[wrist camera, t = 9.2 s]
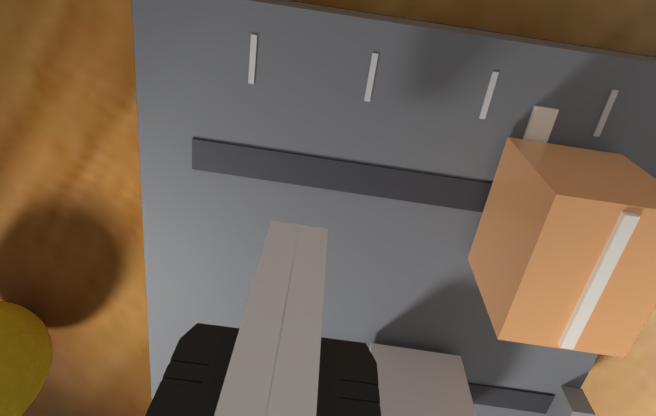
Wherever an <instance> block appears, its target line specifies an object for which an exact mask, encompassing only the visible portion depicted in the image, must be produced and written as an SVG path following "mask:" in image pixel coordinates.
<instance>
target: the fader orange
mask: <svg viewBox="0 0 656 416" xmlns="http://www.w3.org/2000/svg"><path fill="white" fill-rule="evenodd" d="M468 260H469V263H470V266H471V269H472V271H473V274H474V277H475V279H476V282H477V285H478V287H479V290H480V293H481V296H482V298H483V301H484V304H485V306H486V309H487V312H488V315H489V317H490V320H491V323H492V325H493V328H494V331H495V334H496V336H497V339H498V340H505V341H512V342H518V343H525V344H532V345H539V346H546V347H553V348H560V349H567V350H574V351H581V352H587V353H594V354H601V355H608V356H615V357H622V358H626V357H627V355H628V353H629V351H630V350H631V348H632V346H633V345H634V343H635V341H636V339H637V338H638V336H639V334H640V333H641V331H642V329H643V327H644V326H645V324H646V322H647V321H648V319H649V317H650V315H651V314H652V312H653V310H654V309H655V307H656V179H655V178H654V177H652V176H651V175H650V174H648V173H647V172H646V171H644V170H643V169H642V168H640V167H639V166H638V165H636V164H635V163H633V162H632V161H631V160H629V159H628V158H627V157H625V156H624V155H623V154H616V153H610V152H603V151H596V150H590V149H583V148H577V147H570V146H563V145H557V144H550V143H544V142H537V141H530V140H524V139H517V138H511V137H507V140H506V143H505V146H504V149H503V153H502V156H501V159H500V162H499V165H498V168H497V171H496V174H495V177H494V180H493V183H492V186H491V189H490V192H489V195H488V198H487V201H486V204H485V207H484V210H483V213H482V216H481V219H480V222H479V225H478V228H477V231H476V234H475V237H474V241H473V244H472V247H471V250H470V253H469V256H468Z"/></svg>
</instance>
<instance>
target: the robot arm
mask: <svg viewBox="0 0 656 416" xmlns="http://www.w3.org/2000/svg"><path fill="white" fill-rule="evenodd" d="M327 236H328V228H322V227H314V226H307V225H300V224H292V223H285V222H278V221H271V222H270V226H269V229H268V233H267V236H266V239H265V243H264V246H263V250H262V253H261V257H260V260H259V263H258V267H257V270H256V274H255V277H254V281H253V284H252V287H251V291H250V294H249V298H248V301H247V305H246V308H245V311H244V315H243V318H242V322H241V325H240V328H233V327H225V326H218V325H210V324H202V323H197V324H196V325H194V326H193V327H192V328H191V329H190V330H189V331H188V332H187V333H186V334H185V335H183V336H182V337H181V338H180V339H179V341H178V344H177V346H176V348H175V350H174V353H173V355H172V357H171V359H170V364H168V366H167V368H166V371H165V373H164V375H163V379H162V381H161V382H160V384H159V386H158V389H157V391H156V393H155V395H154V398H153V400H152V402H151V404H150V407H149V409H148V411H147V413H146V415H145V416H381V407H380V395H379V388H378V385H379V383H378V371H377V362H376V360H375V358H374V357H373V355H372V353H371V352H370V350H369V348H368V346H367V345H366V343H362V342H354V341H346V340H338V339H331V338H323V337H321V332H322V316H323V300H324V284H325V268H326V252H327Z"/></svg>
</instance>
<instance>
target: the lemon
mask: <svg viewBox="0 0 656 416" xmlns="http://www.w3.org/2000/svg"><path fill="white" fill-rule="evenodd" d="M51 362H52V341H51V337H50V335H49V332H48V330H47V328H46V326H45V325H44V323H43V322H42V321H41V319H39V318H38V317H37V316H36V315H35V314H34V313H33V312H31V311H30V310H28V309H26V308H24V307H22V306H20V305H17V304H14V303H10V302H5V301H0V416H21V415H22V414H23V413H24V412H25V411H26V410H27V408H28V407H29V406H30V405H31V404H32V402H33V401H34V400H35V398H36V397H37V396H38V394H39V392H40V391H41V389H42V387H43V385H44V383H45V381H46V379H47V376H48V373H49V370H50V366H51Z"/></svg>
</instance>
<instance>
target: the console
mask: <svg viewBox="0 0 656 416" xmlns="http://www.w3.org/2000/svg"><path fill="white" fill-rule="evenodd" d="M132 15H133V35H134V55H135V75H136V95H137V115H138V135H139V155H140V175H141V195H142V215H143V235H144V255H145V275H146V295H147V315H148V335H149V355H150V375H151V395H152V400H153V398H154V395H155V393H156V391H157V389H158V386H159V384H160V382H161V381H162V379H163V375H164V373H165V371H166V368H167V366H168V364H170V359H171V357H172V355H173V353H174V350H175V348H176V346H177V344H178V341H179V339H180V338H181V337H182V336H183V335H185V334H186V333H187V332H188V331H189V330H190V329H191V328H192V327H193V326H194V325H196V324H197V323H202V324H210V325H218V326H225V327H233V328H240V325H241V322H242V318H243V315H244V311H245V308H246V305H247V301H248V298H249V294H250V291H251V287H252V284H253V281H254V277H255V274H256V270H257V267H258V263H259V260H260V257H261V253H262V250H263V246H264V243H265V239H266V236H267V233H268V229H269V226H270V222H271V221H278V222H285V223H292V224H300V225H307V226H314V227H322V228H328V236H327V252H326V268H325V284H324V300H323V316H322V332H321V337H323V338H331V339H338V340H346V341H354V342H362V343H366V345H367V346H368V348H370V344H371V343H374V344H381V345H388V346H395V347H402V348H409V349H416V350H423V351H430V352H437V353H444V354H451V355H458V356H461V359H462V363H463V366H464V370H465V374H466V378H467V382H468V386H469V389H470V393H471V397H472V401H473V405H474V409H475V412H476V416H595V413H594V411H593V409H592V407H591V405H590V403H589V401H588V399H587V398H586V396H585V394H584V392H583V390H582V389H580V388H581V386H582V384H583V382H584V380H585V378H586V377H587V375H588V373H589V371H590V369H591V367H592V366H593V364H594V362H595V360H596V358H597V356H598V355H599V354H594V353H587V352H581V351H574V350H567V349H560V348H553V347H546V346H539V345H532V344H525V343H518V342H512V341H505V340H498V339H497V336H496V334H495V331H494V328H493V325H492V323H491V320H490V317H489V315H488V312H487V309H486V306H485V304H484V301H483V298H482V296H481V293H480V290H479V287H478V285H477V282H476V279H475V277H474V274H473V271H472V269H471V266H470V263H469V260H468V256H469V253H470V250H471V247H472V244H473V241H474V237H475V234H476V231H477V228H478V225H479V222H480V219H481V216H482V213H483V210H484V207H485V204H486V201H487V198H488V195H489V192H490V189H491V186H492V183H493V180H494V177H495V174H496V171H497V168H498V165H499V162H500V159H501V156H502V153H503V149H504V146H505V143H506V140H507V137H511V138H517V139H524V140H530V141H537V142H544V143H550V144H557V145H563V146H570V147H577V148H583V149H590V150H596V151H603V152H610V153H616V154H623V155H624V156H625V157H627V158H628V159H629V160H631V161H632V162H633V163H635V164H636V165H638V166H639V167H640V168H642V169H643V170H644V171H646V172H647V173H648V174H650V175H651V176H652V177H654V178H655V179H656V57H651V56H644V55H638V54H631V53H625V52H618V51H612V50H606V49H599V48H593V47H586V46H580V45H573V44H567V43H560V42H554V41H547V40H541V39H534V38H528V37H521V36H515V35H508V34H502V33H496V32H489V31H483V30H476V29H470V28H463V27H457V26H450V25H444V24H437V23H431V22H424V21H418V20H411V19H405V18H399V17H392V16H386V15H379V14H373V13H366V12H360V11H353V10H347V9H340V8H334V7H327V6H321V5H314V4H308V3H302V2H295V1H289V0H132Z"/></svg>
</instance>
